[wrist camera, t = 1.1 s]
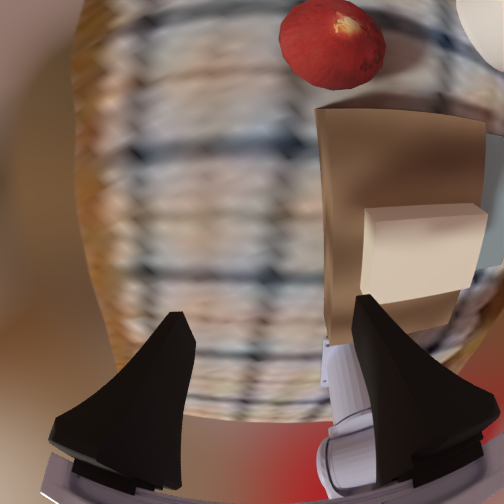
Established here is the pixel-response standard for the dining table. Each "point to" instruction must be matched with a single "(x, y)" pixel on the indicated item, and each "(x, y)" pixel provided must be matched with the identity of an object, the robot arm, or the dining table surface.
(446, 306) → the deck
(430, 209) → the tan tilted rectangular prism
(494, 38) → the base with upright slab
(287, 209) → the dining table surface
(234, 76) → the dining table surface
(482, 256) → the mat
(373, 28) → the onion
